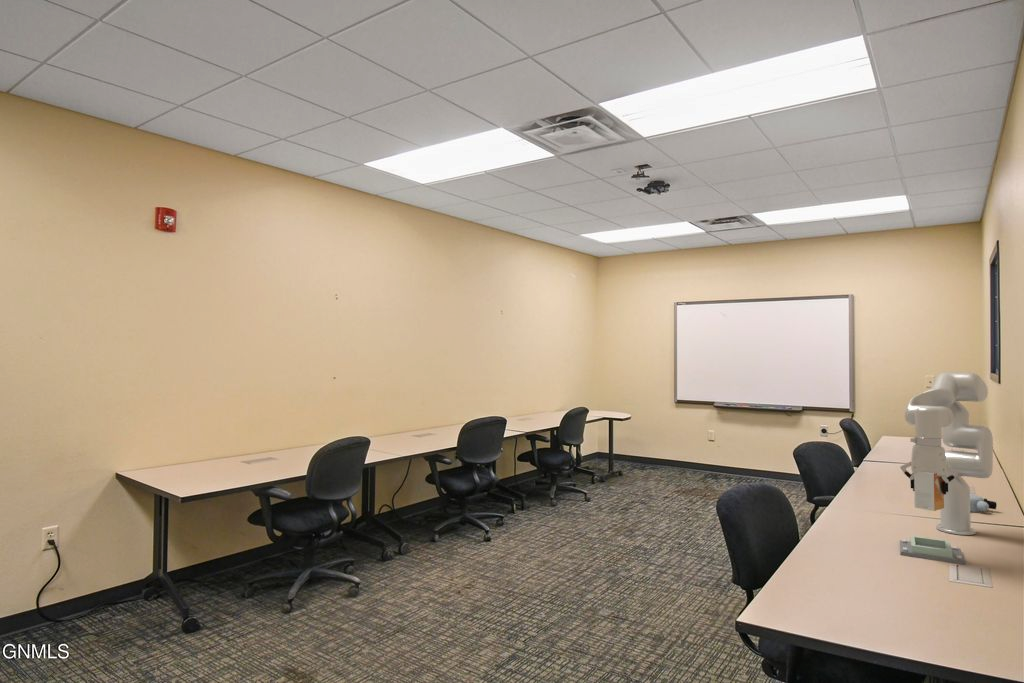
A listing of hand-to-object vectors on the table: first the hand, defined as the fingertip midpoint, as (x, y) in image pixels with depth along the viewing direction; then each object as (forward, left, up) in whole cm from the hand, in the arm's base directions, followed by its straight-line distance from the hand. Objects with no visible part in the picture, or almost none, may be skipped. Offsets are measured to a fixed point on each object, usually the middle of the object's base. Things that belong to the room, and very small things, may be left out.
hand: (929, 492), depth 207 cm
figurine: (-84, +18, -22) cm, 88 cm away
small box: (0, 0, -6) cm, 6 cm away
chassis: (0, 0, -22) cm, 22 cm away
